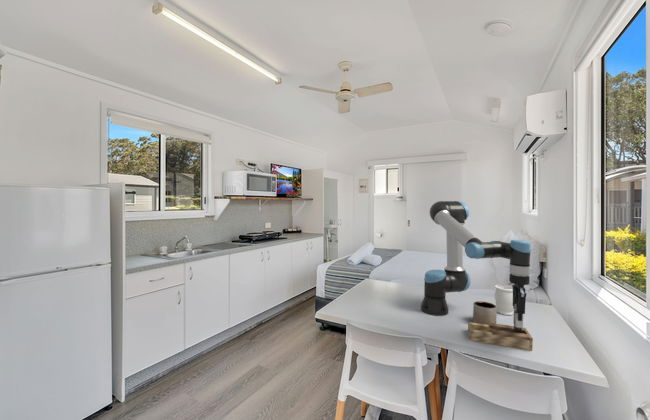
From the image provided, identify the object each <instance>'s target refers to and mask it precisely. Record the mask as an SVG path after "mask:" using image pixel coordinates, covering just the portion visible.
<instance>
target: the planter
mask: <svg viewBox="0 0 650 420" xmlns="http://www.w3.org/2000/svg"><path fill="white" fill-rule="evenodd" d="M496 310H497V307H496V304H495V303H494V304H493V303H491V302H487V301H479V300H478V301H477V300H476V301H474V302H473V310H472V313H473V314H472V320H473V322H474V323H479V324H486V325H489V323H496V324H497V311H496Z"/></svg>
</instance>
